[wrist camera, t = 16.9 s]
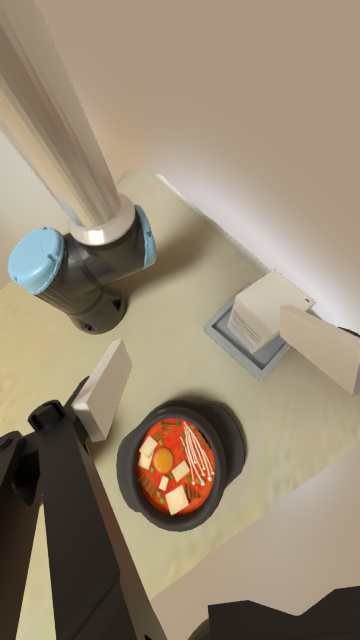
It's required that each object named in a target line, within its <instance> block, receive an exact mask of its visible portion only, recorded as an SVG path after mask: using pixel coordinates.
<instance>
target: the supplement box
mask: <svg viewBox="0 0 360 640" xmlns="http://www.w3.org/2000/svg"><path fill="white" fill-rule="evenodd" d="M315 303H316V302H315V301H314V300H313V299H311V298H310V297H309V296H308V295H306V294H305V293H304V292H303V291H301V290H300V289H299V288H297V287H296V286H295V285H294V284H292V283H291V282H290V281H289V280H288V279H287V278H285V277H284V276H283V275H282V274H280V273H279V272H278V271H277V270H275V269H273V270H272V271H270V272H269V273H268V274H266V275H265V276H263V277H262V278H260V279H259V280H258V281H256V282H255V283H253V284H252V285H250V286H249V287H248V288H246V289H245V290H243V291H242V292H241V293H239V294H238V295H236V298H235V302H234V305H233V308H232V312H231V315H230V318H229V322H228V325H227V327H228V328H229V329H230V331H231V332H232V333H233V334H234V335H235V336H236V337H237V338H238V339H239V341H240V342H241V343H242V344H243V345H244V346H245V347H246V348H247V349H248V351H249V352H250V353H251V354H254V353H255V352H257V351H258V350H259V349H261V348H262V347H263V346H265V345H266V344H267V343H269V342H270V341H271V340H273V339H274V338H275V337H276V336H278V335H279V334H280V306H285V305H292V306H294V307H296V308H298V309H301V310H303V311H305V312H306V311H307V310H309V309H310V308H311V307H312V306H313V305H314V304H315Z"/></svg>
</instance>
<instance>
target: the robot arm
mask: <svg viewBox="0 0 360 640" xmlns="http://www.w3.org/2000/svg"><path fill="white" fill-rule="evenodd" d="M0 130H1V132H2V133H3V134H4V135H5V137H6V138H7V139H8V141H9V142H10V143H11V144H12V146H13V147H14V148H15V149H16V151H17V152H18V153H19V154H20V156H21V157H22V158H23V160H24V161H25V162H26V163H27V165H28V166H29V167H30V168H31V170H32V171H33V172H34V173H35V175H36V176H37V177H38V178H39V180H40V181H41V182H42V183H43V185H44V186H45V187H46V188H47V190H48V191H49V192H50V194H51V195H52V196H53V197H54V199H55V200H56V201H57V202H58V204H59V205H60V206H61V207H62V209H63V210H64V211H65V212H66V214H67V215H68V216H69V222H68V226H69V231H70V233H68V234H65V235H62V234H61V233H60V232H59V231H57V230H55V229H53V228H46V227H43V228H39V229H37V230H34V231H32V232H31V233H29V234H28V235H26V236H25V237H24V238H23V239H22V240H21V241H20V242H19V243H18V244H17V245H16V247H15V248H14V250H13V251H12V253H11V255H10V258H9V261H8V272H9V275H10V277H11V279H12V280H13V281H14V282H15V283H17V284H18V285H19V286H21V287H22V288H24V289H25V290H27V292H28V293H30V294H32V295H35V296H37V297H38V298H40V299H42V300H44V301H45V302H47V303H49V304H51V305H52V306H54V307H56V308H58V309H59V310H61V311H63V312H64V313H66V314H67V315H68V316H69V318H70V319H71V321H72V322H73V323H74V325H75V326H76V327H77V328H78V329H80V330H82V331H84V332H86V333H88V334H102V333H105V332H107V331H109V330H111V329H112V328H114V327H115V326H116V325H117V324H118V323H119V322H120V320H121V319H122V317H123V315H124V313H125V308H126V302H125V298H124V296H123V295H122V293H121V292H120V291H119V290H118V289H117V288H116V287H114V286H113V285H111V284H112V283H114V282H117V281H119V280H121V279H124V278H126V277H129V276H131V275H133V274H136V273H138V272H140V271H143V270H144V269H145V268H147V267H149V266H151V265H153V264H154V263H155V261H156V258H157V251H156V245H155V241H154V237H153V235H152V232H151V227H150V224H149V222H148V219H147V217H146V215H145V213H144V211H143V209H142V208H141V207H140V206H139V205H133V203H132V201H131V200H130V199H129V198H128V197H127V196H125V195H124V194H122V193H119V192H118V190H117V188H116V185H115V183H114V180H113V178H112V176H111V173H110V171H109V169H108V166H107V164H106V162H105V159H104V157H103V155H102V153H101V150H100V147H99V145H98V143H97V140H96V138H95V136H94V133H93V131H92V129H91V126H90V124H89V122H88V119H87V117H86V114H85V112H84V110H83V107H82V105H81V103H80V100H79V98H78V96H77V93H76V91H75V88H74V86H73V84H72V81H71V79H70V77H69V74H68V72H67V70H66V67H65V65H64V63H63V60H62V58H61V55H60V53H59V51H58V49H57V46H56V44H55V41H54V39H53V37H52V34H51V32H50V30H49V27H48V25H47V22H46V20H45V18H44V15H43V13H42V11H41V8H40V6H39V4H38V1H37V0H0ZM280 337H281V338H283V339H284V340H285V341H286V342H287V343H289V344H290V345H291V346H292V347H294V348H295V349H296V350H297V351H298V352H300V353H301V354H302V355H303V356H304V357H306V358H307V359H308V360H309V361H310V362H312V363H313V364H314V365H315V366H316V367H318V368H319V369H320V370H321V371H322V372H324V373H325V374H326V375H327V376H329V377H330V378H331V379H332V380H333V381H335V382H336V383H337V384H338V385H339V386H341V387H342V388H343V389H344V390H345V391H347V392H348V393H349V394H350V395H351V396H356V395H360V335H358V333H355V332H353V331H351V330H349V329H345V328H341V327H335V326H334V325H332V324H330V323H327V322H325V321H323V320H321V319H319V318H317V317H315V316H313V315H311V314H309V313H307V312H305V311H303V310H301V309H298V308H296V307H294V306H292V305H285V306H280ZM131 368H132V363H131V360H130V358H129V355H128V352H127V350H126V347H125V344H124V342H123V339H118V340H113V342H112V344H111V345H110V347H109V348H108V350H107V351H106V353H105V354H104V356H103V357H102V359H101V360H100V362H99V363H98V365H97V366H96V368H95V369H94V371H93V373H92V374H91V376H88V377H86V378H85V379H84V380H83V381H82V382H80V384H79V385H78V387H77V388H76V390H75V391H74V392H73V395H71V397H70V398H69V400H68V401H67V402H66V404H65V405H64V407H63V406H62V405H61V403H60V402H59V401H58V400H51V401H48V402H46V403H44V404H42V405H41V406H39V407H38V408H36V409H35V410H34V411H33V412H32V413H31V414H30V416H29V417H28V422H29V423H30V425H31V426H32V427H33V429H34V430H35V432H32V433H30V434H28V435H25V436H22V434H21V433H20V432H19V431H13V432H10V433H7V434H6V435H4V436H2V437H0V640H15V639H16V634H17V628H18V623H19V617H20V612H21V606H22V601H23V595H24V590H25V584H26V579H27V573H28V568H29V563H30V557H31V552H32V546H33V541H34V535H35V530H36V524H37V519H38V513H39V508H40V502H41V497H42V494H43V505H44V515H45V526H46V536H47V546H48V557H49V567H50V578H51V588H52V599H53V609H54V620H55V630H56V640H167V638H166V636H165V634H164V631H163V629H162V627H161V625H160V622H159V621H158V619H157V617H156V615H155V613H154V611H153V609H152V607H151V604H150V602H149V600H148V597H147V595H146V592H145V590H144V587H143V585H142V582H141V580H140V577H139V575H138V572H137V570H136V567H135V565H134V562H133V560H132V557H131V555H130V552H129V550H128V547H127V544H126V542H125V539H124V537H123V534H122V532H121V529H120V527H119V524H118V522H117V519H116V517H115V514H114V512H113V509H112V507H111V504H110V502H109V499H108V497H107V494H106V492H105V489H104V487H103V484H102V482H101V479H100V477H99V474H98V472H97V469H96V467H95V464H94V462H93V459H92V457H91V454H90V452H89V449H88V446H87V445H86V443H85V441H86V439H87V437H88V435H89V437H90V439H91V440H92V442H96V441H102V440H106V438H107V436H108V433H109V430H110V427H111V424H112V422H113V419H114V416H115V413H116V410H117V407H118V405H119V402H120V399H121V396H122V393H123V390H124V388H125V385H126V382H127V379H128V376H129V374H130V371H131ZM208 613H209V618H208V619H207V620H205V621H204V622H203V623H201V625H200V626H199V627H198V628H197V629H196V630H195V631H194V632H193V633H192V635H191V636H190V637H189V639H188V640H360V586H356V587H348V588H340V589H335V590H333V591H332V592H331V593H329V594H328V595H327V596H325V597H324V598H323V599H321V600H320V601H319V602H318V603H316V604H315V605H314V606H312V607H311V608H310V609H308V610H307V611H306V612H304V613H303V614H302V615H299V616H294V615H291V614H288V613H285V612H282V611H279V610H276V609H273V608H270V607H267V606H264V605H261V604H258V603H255V602H252V601H249V600H245V601H238V602H230V603H222V604H214V605H208Z"/></svg>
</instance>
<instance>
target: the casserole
mask: <svg viewBox="0 0 360 640" xmlns="http://www.w3.org/2000/svg"><path fill="white" fill-rule="evenodd" d="M244 462H245V452H244V445H243V441H242V437H241V434H240V431H239V429H238V427H237V425H236V423H235V421H234V420H233V419H232V417H231V416H230V415H229V413H228V412H227V411H226V410H224V409H223V408H222V407H220V406H218V405H216V404H194V403H189V402H184V401H172V402H168V403H165V404H163V405H161V406H159V407H157V408H155V409H154V410H153V411H152V412H150V413H149V414H148V416H147V417H146V418H145V419H144V420H143V421H142V423H141V424H140V425H139V426H138V427H137V428H136V429H135V430H133V431H132V432H131V433H129V434H128V435H127V436H126V437H125V438H124V439H123V441H122V442H121V444H120V446H119V450H118V454H117V464H116V468H117V479H118V484H119V488H120V491H121V493H122V496H123V498H124V500H125V502H126V503H127V505H128V506H129V507H130V508H131V509H132V510H134V511H135V512H141V513H142V514H143V515H144V516H145V517H146V518H147V519H148V520H149V521H150V522H151V523H153V524H154V525H156V526H157V527H159V528H162V529H165V530H168V531H178V532H182V531H187V530H191V529H194V528H196V527H197V526H199V525H201V524H203V523H204V522H205V521H206V520H207V519H208V518H209V517H210V516H211V515H212V514H213V512H214V511H215V509H216V508H217V507H218V505H219V502H220V500H221V498H222V495H223V492H224V489H225V488H226V487H227V485H229V484H230V483H231V482H232V481H233V480H234V479H235V478H236V477H237V476H238V475H239V474H240V473H241V472H242V469H243V466H244Z"/></svg>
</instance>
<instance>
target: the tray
mask: <svg viewBox="0 0 360 640" xmlns="http://www.w3.org/2000/svg"><path fill="white" fill-rule="evenodd" d="M250 285H252V284H251V283H248V284H247V285H246V286H245V287H244V288H243V289H242V290H241V291H240V292H239V293H241V292H242V291H243V290H245V289H246V288H248V287H249V286H250ZM239 293H238V294H239ZM238 294H237V295H238ZM235 298H236V296H235V297H234V298H232V299H231V300H230V301H229V302H228V303H227V304H226V305H225V306H224V307H223V308H222V309H221V310H220V311H219V312H218V313H217V314H216V315H215V316H214V317H213V318H212V319H211V320H210V321H209V322H208V323H207V324H206V325H205V326H204V332H205V333H206V334H207V335H208V336H210V337H211V338H212V339H213V340H214V341H215V342H216V343H217V344H218V345H220V346H221V347H222V348H223V349H224V350H225V351H226V352H227V353H228V354H230V355H231V356H232V357H233V358H234V359H235V360H236V361H237V362H238V363H240V364H241V365H242V366H243V367H244V368H245V369H246V370H247V371H248V372H250V373H251V374H252V375H253V376H254V377H255V378H256V379H257V380H258V381H259V380H262V379H264V378H265V377H266V376H267V374H268V373H269V372H270V371H271V370H272V369H273V368H274V366H275V365H276V364H277V363H278V362H279V361H280V360H281V358H282V357H283V356H284V355H285V354H286V353H287V352H288V350H289V349H290V348H291V347H292V346H291V345H290V344H289V343H287V342H286V341H285V340H284V339H283V338H281V337H280V334H279V335H278V336H276V337H275V338H274V339H273V340H271V341H270V342H269V343H267V344H266V345H265V346H263V347H262V348H261V349H259V350H258V351H257V352H255V353H254V354H251V353H250V352H249V351H248V349H247V348H246V347H245V346H244V345H243V344H242V343H241V342H240V341H239V339H238V338H237V337H236V336H235V335H234V334H233V333H232V332H231V331H230V329H229V328H228V327H227V325H228V322H229V318H230V315H231V312H232V308H233V305H234V302H235Z"/></svg>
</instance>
